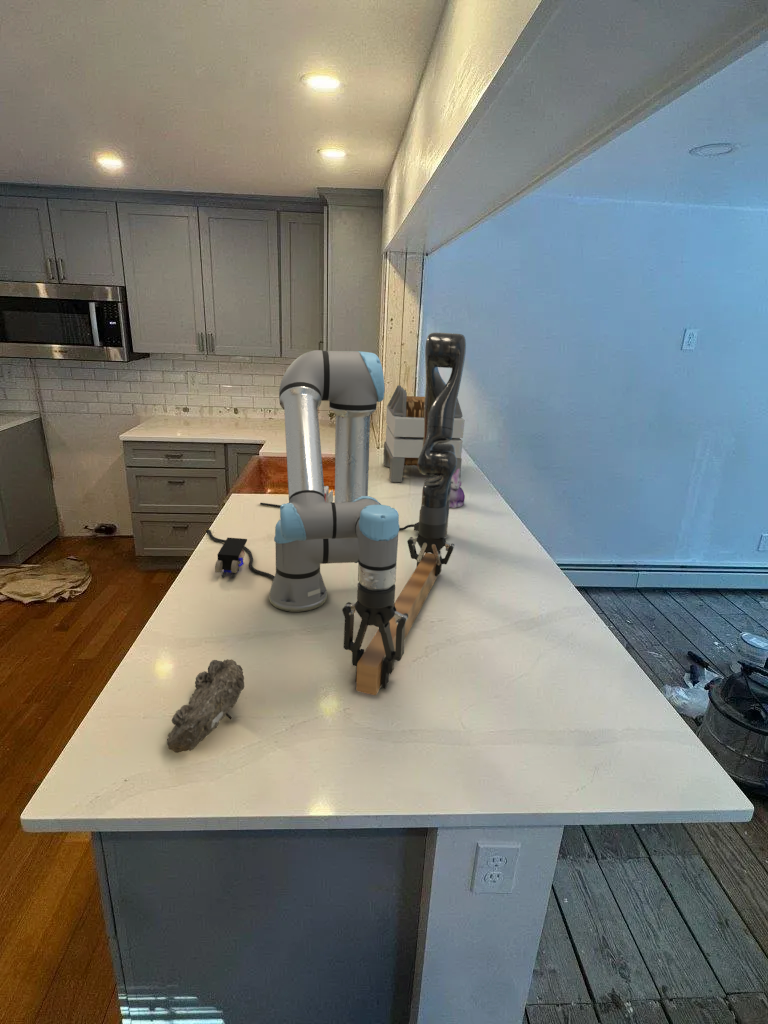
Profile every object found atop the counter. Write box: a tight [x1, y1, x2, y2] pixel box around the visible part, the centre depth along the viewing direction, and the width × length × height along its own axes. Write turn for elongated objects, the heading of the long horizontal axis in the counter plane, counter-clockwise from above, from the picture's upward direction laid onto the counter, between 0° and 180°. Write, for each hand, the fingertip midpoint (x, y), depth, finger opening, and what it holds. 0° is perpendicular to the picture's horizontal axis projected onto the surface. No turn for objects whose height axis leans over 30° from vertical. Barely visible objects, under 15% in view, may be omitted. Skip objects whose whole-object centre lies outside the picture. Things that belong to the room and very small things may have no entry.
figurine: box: [449, 468, 466, 509], centre depth 230 cm, size 9×10×15 cm
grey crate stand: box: [383, 384, 465, 483], centre depth 268 cm, size 34×33×41 cm
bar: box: [355, 553, 438, 696], centre depth 143 cm, size 60×4×7 cm, turn 163°
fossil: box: [166, 658, 245, 754], centre depth 106 cm, size 22×10×15 cm
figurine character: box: [214, 537, 248, 578], centre depth 166 cm, size 7×8×15 cm
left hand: (372, 681), depth 120 cm, fingers open, 5 cm apart
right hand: (428, 573), depth 166 cm, fingers closed on bar, 4 cm apart
